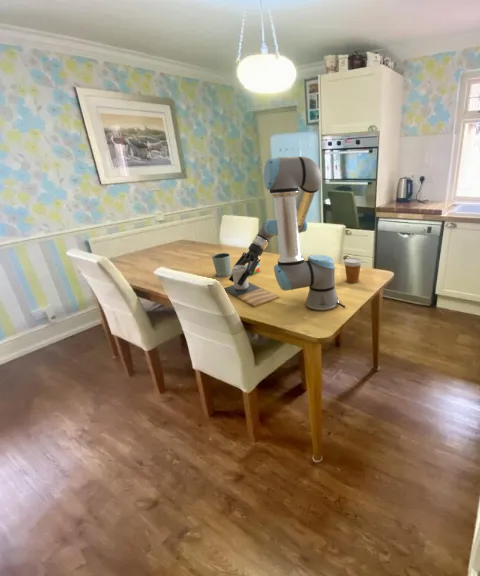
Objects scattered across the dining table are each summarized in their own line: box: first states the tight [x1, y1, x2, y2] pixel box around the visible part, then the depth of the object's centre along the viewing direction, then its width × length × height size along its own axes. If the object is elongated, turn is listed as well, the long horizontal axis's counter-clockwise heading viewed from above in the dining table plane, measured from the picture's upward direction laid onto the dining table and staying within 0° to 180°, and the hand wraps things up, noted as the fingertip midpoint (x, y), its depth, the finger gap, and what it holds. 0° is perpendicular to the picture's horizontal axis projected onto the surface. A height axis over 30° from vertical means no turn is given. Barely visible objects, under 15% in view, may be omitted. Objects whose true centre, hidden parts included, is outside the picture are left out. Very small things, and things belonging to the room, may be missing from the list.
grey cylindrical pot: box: [211, 252, 232, 278], centre depth 189 cm, size 10×10×12 cm
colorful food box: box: [244, 262, 261, 277], centre depth 190 cm, size 12×2×6 cm, turn 145°
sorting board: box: [223, 281, 279, 308], centre depth 163 cm, size 30×14×1 cm, turn 44°
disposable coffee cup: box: [343, 257, 362, 284], centre depth 174 cm, size 10×10×12 cm
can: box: [231, 265, 249, 290], centre depth 166 cm, size 8×8×12 cm
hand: (234, 282), depth 165 cm, fingers open, 8 cm apart
